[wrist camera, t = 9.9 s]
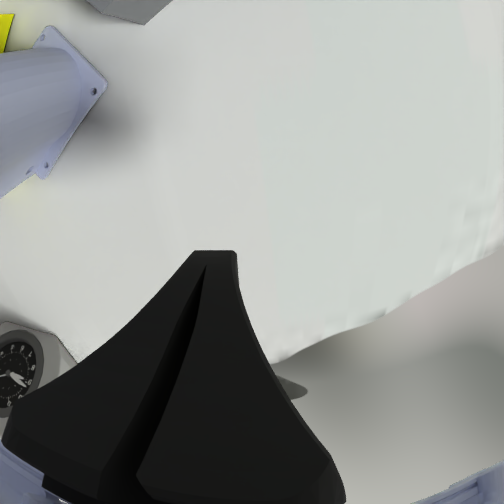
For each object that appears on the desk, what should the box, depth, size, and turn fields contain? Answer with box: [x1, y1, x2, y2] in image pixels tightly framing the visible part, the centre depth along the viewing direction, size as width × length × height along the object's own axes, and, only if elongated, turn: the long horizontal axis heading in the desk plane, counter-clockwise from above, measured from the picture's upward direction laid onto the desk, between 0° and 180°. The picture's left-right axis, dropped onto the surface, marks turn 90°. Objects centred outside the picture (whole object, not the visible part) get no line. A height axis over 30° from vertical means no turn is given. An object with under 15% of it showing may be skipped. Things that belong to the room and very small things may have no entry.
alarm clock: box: [0, 321, 77, 439], centre depth 24 cm, size 21×8×20 cm, turn 90°
